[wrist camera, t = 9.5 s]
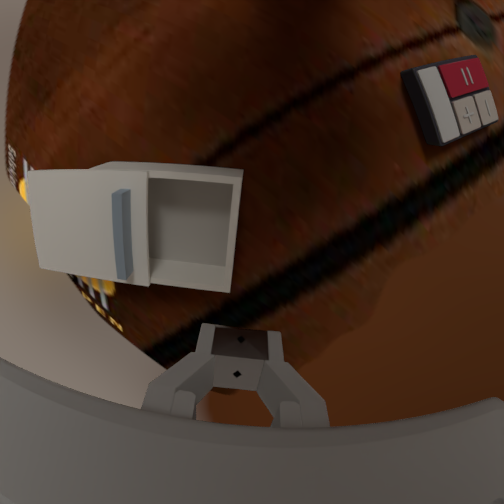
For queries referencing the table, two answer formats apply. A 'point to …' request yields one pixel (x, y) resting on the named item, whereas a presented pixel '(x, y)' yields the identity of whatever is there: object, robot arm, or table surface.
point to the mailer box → (190, 223)
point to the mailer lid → (92, 222)
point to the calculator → (450, 98)
